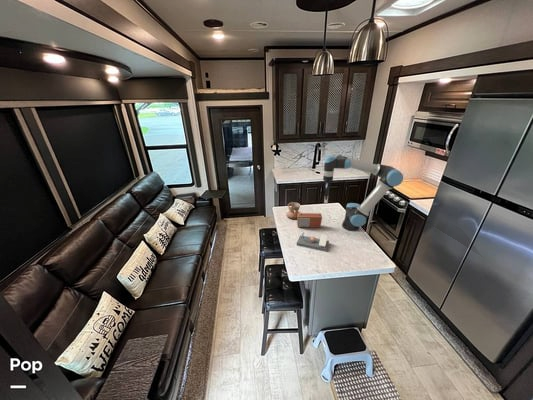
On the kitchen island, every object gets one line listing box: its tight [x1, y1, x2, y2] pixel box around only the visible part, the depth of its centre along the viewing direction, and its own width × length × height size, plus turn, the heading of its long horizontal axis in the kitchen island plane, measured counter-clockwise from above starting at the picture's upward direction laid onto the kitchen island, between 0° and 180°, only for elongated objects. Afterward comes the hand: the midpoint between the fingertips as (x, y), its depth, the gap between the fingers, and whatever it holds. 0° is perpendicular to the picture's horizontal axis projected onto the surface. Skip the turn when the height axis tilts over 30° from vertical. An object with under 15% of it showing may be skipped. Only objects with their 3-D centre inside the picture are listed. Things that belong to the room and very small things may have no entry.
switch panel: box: [296, 234, 330, 252], centre depth 176 cm, size 24×12×4 cm, turn 67°
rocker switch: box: [319, 234, 328, 247], centre depth 172 cm, size 5×11×1 cm, turn 157°
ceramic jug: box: [286, 201, 301, 220], centre depth 219 cm, size 18×14×14 cm
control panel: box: [296, 212, 323, 228], centre depth 200 cm, size 21×7×15 cm, turn 86°
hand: (325, 202), depth 182 cm, fingers closed
